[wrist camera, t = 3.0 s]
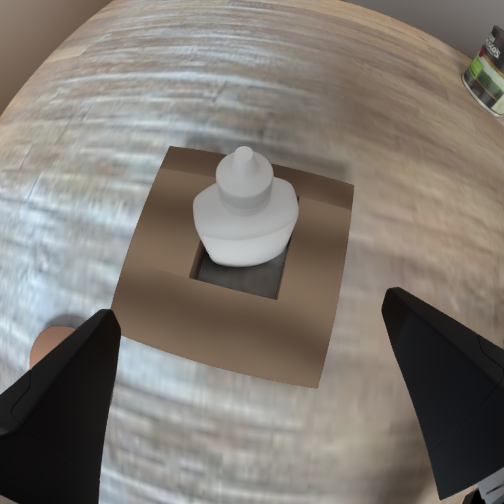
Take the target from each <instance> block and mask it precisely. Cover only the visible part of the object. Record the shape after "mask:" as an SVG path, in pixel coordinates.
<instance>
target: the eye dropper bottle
mask: <svg viewBox="0 0 504 504" xmlns="http://www.w3.org/2000/svg"><path fill="white" fill-rule="evenodd" d="M216 169H217V170H216V173H215V174H216V182H217V183H215V184H213V185H211V186H210V187H208V188H206V189H205V190H203V191H202V192H201V193H199V194H198V195H197V196H196V198H195V199H194V202H193V214H194V222H195V227H196V230H197V232H198V234H199V236H200V238H201V240H202V242H203V244H204V246H205V248H206V250H207V252H208V254H209V255H210V257H211V259H212V261H213V262H215V263H216V264H219V265H222V266H228V267H250V266H255V265H259V264H262V263H265V262H267V261H269V260H271V259H273V258H275V257H277V256H278V255H280V254H281V253H282V252H283V251H284V249H285V248H286V245H287V243H288V241H289V238H290V236H291V234H292V231H293V229H294V226H295V224H296V221H297V218H298V213H299V206H298V202H297V197H296V194H295V191H294V188H293V186H292V185H291V184H290V183H289V182H287V181H285V180H283V179H280V178H276V177H274V176H273V175H274V173H273V168H272V166H271V164H270V163H269V161H268V159H266V158H265V157H264V156H263V155H262V154H259V153H257V152H254V151H253V150H252V149H251V148H250V147H247V146H241V147H239V148H237V149H236V150H235V152H233V153H231V154H228V155H227V156H226V157H224V159H222V161H220V163H219V165H218V167H217V168H216Z"/></svg>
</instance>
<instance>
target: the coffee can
mask: <svg viewBox="0 0 504 504" xmlns="http://www.w3.org/2000/svg"><path fill="white" fill-rule="evenodd" d="M462 81H463V83H464V85H465V87H466V88H467V90H468V91H469V93H470V94H471V95H472V96H473V97H474V98H475V100H476V101H477V102H478V103H479V104H480V105H481V106H482V107H483V108H484V109H486V110H487V111H488V112H489V113H491V114H492V115H494V116H496V117H502V116H503V114H504V31H503V30H502V29H501V28H499V27H498V26H495V25H494V27H493V30H492V32H491V34H490V35H489V37H488V38H487V40H486V41H485V43H484V44H483V46H482V48H481V49H480V51H479V52H478V54H477V56H476V57H475V59H474V60H473V61H472V63H471V64H470V66H469V67H468V69H467V70H466V71H465V73H464V74H463V75H462Z"/></svg>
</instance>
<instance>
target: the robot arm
mask: <svg viewBox="0 0 504 504" xmlns="http://www.w3.org/2000/svg"><path fill="white" fill-rule="evenodd" d="M381 310H382V316H383V319H384V322H385V325H386V329H387V332H388V335H389V339H390V342H391V346H392V349H393V352H394V354H395V357H396V360H397V362H398V365H399V367H400V370H401V372H402V375H403V378H404V380H405V383H406V386H407V388H408V391H409V394H410V397H411V400H412V402H413V405H414V408H415V411H416V414H417V417H418V420H419V424H420V427H421V430H422V433H423V437H424V440H425V443H426V447H427V450H428V454H429V458H430V462H431V466H432V470H433V474H434V478H435V482H436V486H437V491H438V495H439V499H440V500H443V499H445V498H447V497H450V496H452V495H454V494H456V493H458V492H460V491H463V490H465V489H467V488H469V487H470V486H472V485H474V484H476V483H477V485H478V488H476V489H475V490H474V491H472V492H471V493H469V494H467V495H466V496H465V498H464V501H463V503H462V504H504V349H502V348H500V347H498V346H497V345H495V344H493V343H492V342H490V341H488V340H487V339H485V338H483V337H482V336H480V335H479V334H477V333H475V332H474V331H472V330H471V329H469V328H467V327H466V326H464V325H463V324H461V323H459V322H458V321H456V320H454V319H453V318H451V317H449V316H448V315H446V314H444V313H443V312H441V311H439V310H438V309H436V308H434V307H433V306H431V305H429V304H428V303H426V302H424V301H422V300H421V299H419V298H417V297H415V296H414V295H412V294H410V293H409V292H407V291H405V290H403V289H402V288H400V287H393V288H389V289H387V291H386V294H385V297H384V301H383V304H382V309H381ZM120 339H121V327H120V325H119V323H118V320H117V318H116V316H115V314H114V312H113V310H111V309H101V310H99V311H98V312H97V313H95V314H94V315H93V316H92V317H90V318H89V319H88V320H87V321H86V322H84V323H83V324H82V325H81V326H79V327H78V328H77V329H76V330H75V331H73V332H72V333H71V334H70V335H69V336H68V337H66V338H65V339H64V340H63V341H62V342H60V343H59V344H58V345H57V346H56V347H55V348H54V349H52V350H51V351H50V352H49V353H48V354H47V355H45V356H44V357H43V358H42V359H41V360H40V361H39V362H38V363H36V364H35V365H34V366H33V367H32V368H31V369H30V370H29V371H27V372H26V373H25V374H24V375H23V376H22V377H21V378H20V379H19V380H17V381H16V382H15V383H14V384H13V385H12V386H10V387H9V388H8V389H7V390H5V391H4V392H3V393H2V394H0V504H98V502H99V486H100V480H99V479H100V472H101V462H102V454H103V446H104V438H105V431H106V425H107V419H108V413H109V407H110V402H111V397H112V391H113V386H114V382H115V377H116V371H117V363H118V355H119V347H120Z"/></svg>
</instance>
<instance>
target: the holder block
mask: <svg viewBox="0 0 504 504" xmlns="http://www.w3.org/2000/svg"><path fill="white" fill-rule="evenodd" d="M226 156H227V155H224V154H219V153H213V152H207V151H201V150H194V149H188V148H181V147H173V146H170V147H169V149H168V151H167V153H166V156H165V158H164V160H163V162H162V164H161V167H160V169H159V171H158V173H157V176H156V178H155V180H154V183H153V185H152V187H151V190H150V192H149V195H148V197H147V200H146V202H145V205H144V207H143V210H142V213H141V215H140V218H139V220H138V223H137V226H136V229H135V231H134V234H133V237H132V240H131V243H130V246H129V249H128V252H127V255H126V258H125V261H124V264H123V267H122V270H121V274H120V277H119V280H118V284H117V287H116V291H115V294H114V298H113V301H112V305H111V310H113V312H114V314H115V316H116V318H117V320H118V323H119V325H120V327H121V335H122V336H124V337H127V338H129V339H132V340H135V341H137V342H140V343H143V344H145V345H148V346H151V347H154V348H157V349H159V350H162V351H165V352H168V353H171V354H174V355H177V356H181V357H184V358H187V359H190V360H193V361H197V362H200V363H204V364H207V365H211V366H214V367H218V368H222V369H225V370H229V371H233V372H237V373H241V374H245V375H250V376H254V377H258V378H263V379H268V380H272V381H277V382H282V383H288V384H293V385H299V386H304V387H311V388H318V385H319V381H320V377H321V374H322V370H323V366H324V362H325V358H326V354H327V350H328V345H329V341H330V337H331V332H332V328H333V323H334V318H335V313H336V308H337V303H338V298H339V293H340V287H341V281H342V276H343V270H344V263H345V257H346V250H347V243H348V236H349V228H350V220H351V212H352V202H353V192H354V185H351V184H348V183H344V182H341V181H337V180H334V179H330V178H327V177H323V176H319V175H315V174H312V173H308V172H304V171H300V170H296V169H291V168H287V167H283V166H279V165H274V164H271V166H272V168H273V173H274V175H273V176H274V177H276V178H280V179H283V180H285V181H287V182H289V183H290V184H291V185H292V186H293V188H294V191H295V194H296V197H297V202H298V206H299V213H298V218H297V221H296V224H295V226H294V229H293V231H292V234H291V236H290V238H289V241H288V245H287V249H286V254H285V258H284V263H283V267H282V272H281V276H280V280H279V285H278V289H277V293H276V298H275V300H274V299H270V298H266V297H262V296H258V295H253V294H249V293H245V292H241V291H237V290H233V289H229V288H226V287H222V286H218V285H214V284H210V283H206V282H203V281H199V280H197V277H198V273H199V270H200V266H201V263H202V260H203V256H204V253H205V249H206V248H205V246H204V244H203V242H202V240H201V238H200V236H199V234H198V232H197V230H196V227H195V222H194V214H193V202H194V199H195V198H196V196H197V195H198V194H199V193H201V192H202V191H203V190H205V189H206V188H208V187H210V186H211V185H213V184H215V183H217V182H216V174H215V173H216V170H217V169H216V168H217V167H218V165H219V163H220V161H222V159H224V157H226Z"/></svg>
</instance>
